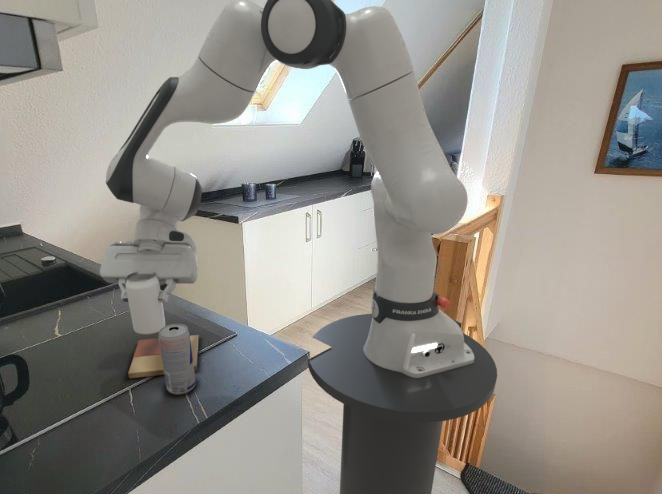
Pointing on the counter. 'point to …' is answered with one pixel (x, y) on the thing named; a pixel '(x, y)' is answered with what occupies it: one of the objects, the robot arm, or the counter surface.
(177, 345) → the energy drink
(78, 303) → the counter surface
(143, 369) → the square wooden board
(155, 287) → the can
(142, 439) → the counter surface
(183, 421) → the counter surface
